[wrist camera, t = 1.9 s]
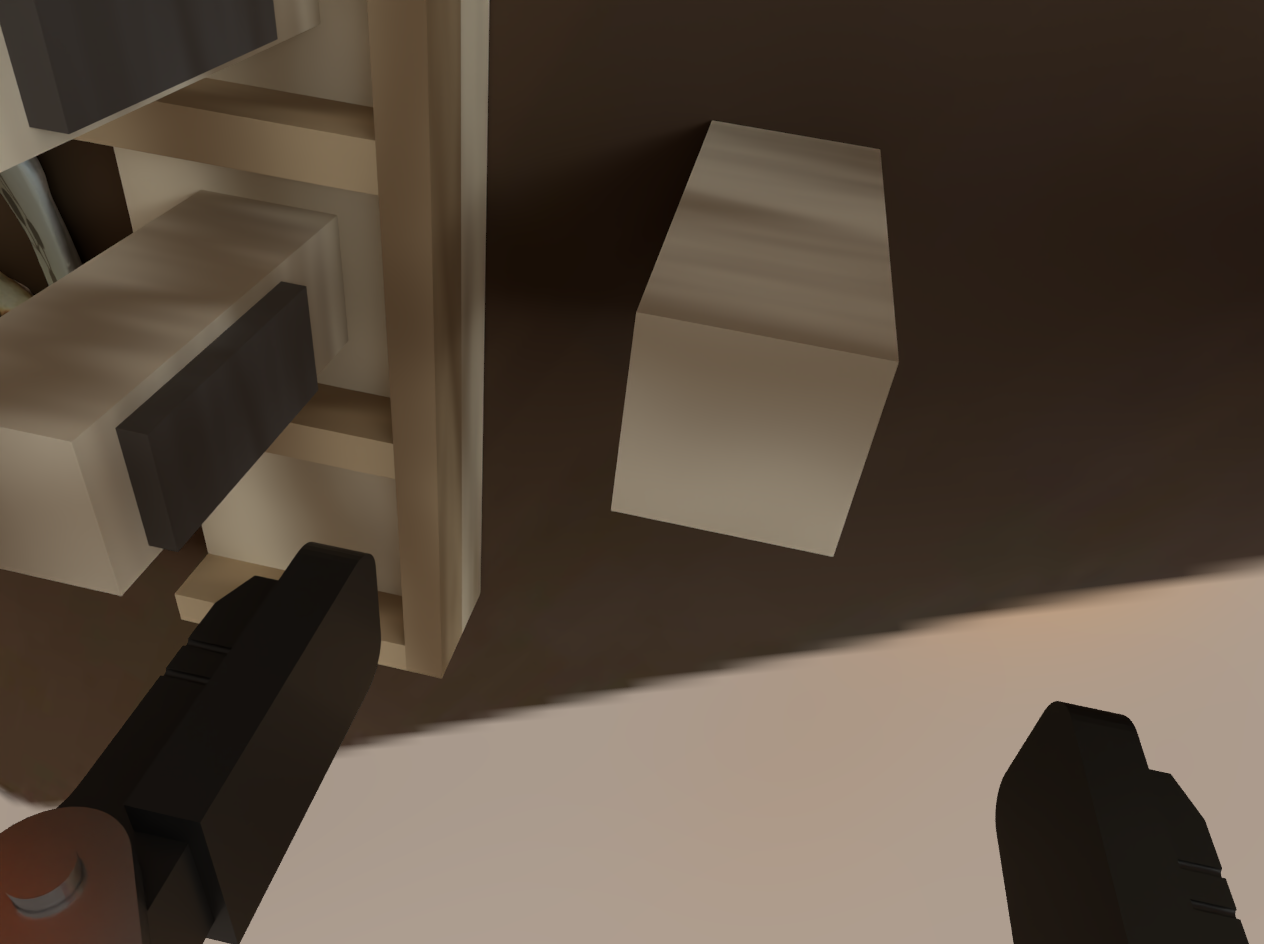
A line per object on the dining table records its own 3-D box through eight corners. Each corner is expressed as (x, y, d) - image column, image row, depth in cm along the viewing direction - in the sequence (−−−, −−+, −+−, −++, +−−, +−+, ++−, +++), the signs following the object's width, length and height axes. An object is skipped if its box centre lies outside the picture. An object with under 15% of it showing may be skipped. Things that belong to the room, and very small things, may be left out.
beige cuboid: (832, 322, 24) (825, 581, 17) (683, 294, 25) (607, 535, 17) (880, 149, 22) (898, 361, 14) (712, 119, 22) (636, 311, 14)
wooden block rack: (495, -332, 18) (88, -460, 8) (480, 592, 33) (333, 917, 24) (58, -392, 18) (-775, -571, 9) (243, 541, 34) (9, 836, 24)
